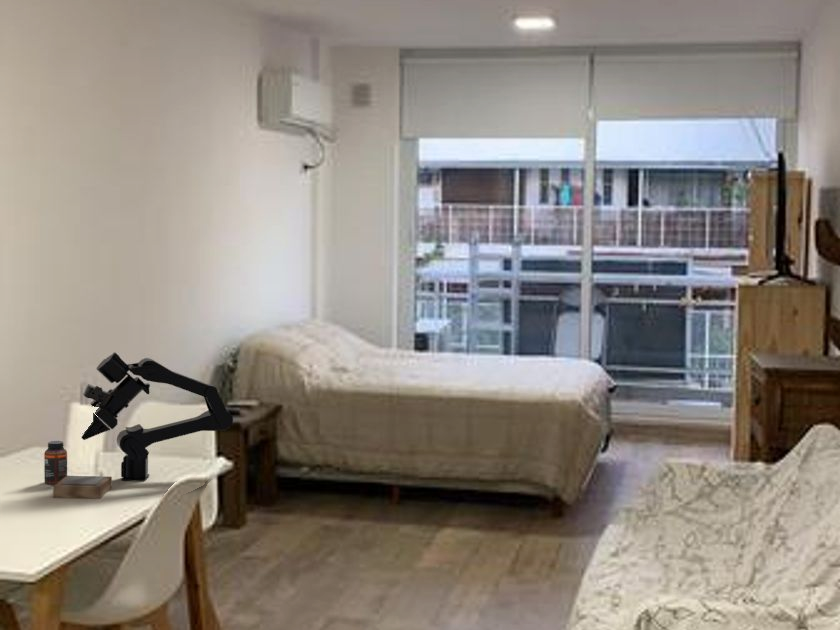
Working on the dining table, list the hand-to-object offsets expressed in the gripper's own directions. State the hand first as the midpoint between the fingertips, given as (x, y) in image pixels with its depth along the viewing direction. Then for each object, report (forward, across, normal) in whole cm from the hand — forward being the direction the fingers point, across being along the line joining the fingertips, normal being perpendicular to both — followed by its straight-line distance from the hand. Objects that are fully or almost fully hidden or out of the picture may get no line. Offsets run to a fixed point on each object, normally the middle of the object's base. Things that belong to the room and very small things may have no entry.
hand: (81, 435), depth 306 cm
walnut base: (+9, +13, +9) cm, 18 cm away
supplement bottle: (+14, 0, +4) cm, 15 cm away
